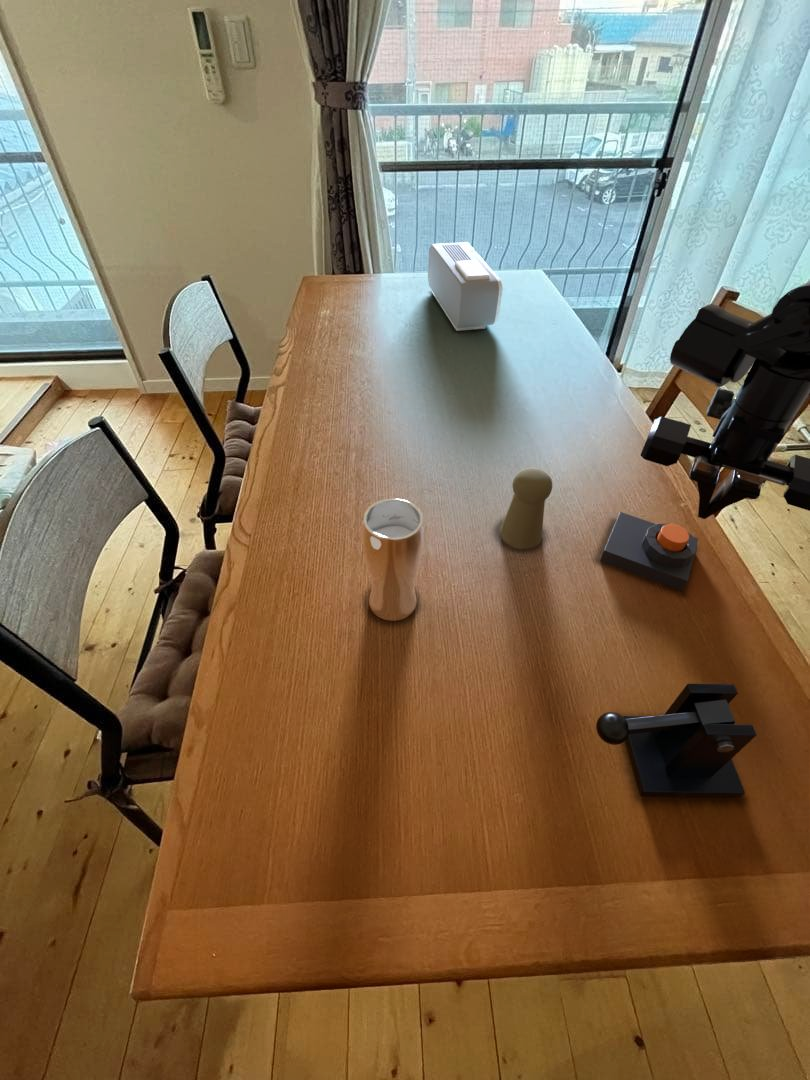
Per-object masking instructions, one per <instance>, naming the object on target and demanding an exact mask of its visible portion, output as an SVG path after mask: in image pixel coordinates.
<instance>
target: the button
mask: <svg viewBox="0 0 810 1080" xmlns="http://www.w3.org/2000/svg"><path fill="white" fill-rule="evenodd" d="M666 524H667V525H665V526H663V527H662V528H661V530H660V532H659V534H658V537H657V542H658V544H659V545H660V546H661V547H663V548H664V549H666V550H669V551H672V552H679V551H681V550H683V549H684V547H685V546H686V544H687V542H688V540H689V534H690V533H689V532H688V530H686V529H685V528H684V527H683V526H681V525H678V524H673V523H666ZM688 533H689V534H688Z"/></svg>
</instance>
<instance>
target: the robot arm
mask: <svg viewBox="0 0 810 1080" xmlns="http://www.w3.org/2000/svg"><path fill="white" fill-rule="evenodd" d="M669 363H670V364H671V365H672V366H674V367H676V368H678V369H680V370H683V372H686V373H688V374H690V375H693V376H695V377H697V378H699V379H701V380H703V381H705V382H707V383H709V384H711V385H713V386H715V387H717V388H716V389H715V392H714V394H713V396H712V398H711V400H710V403H709V405H708V407H707V409H706V412H705V414H706V417H709V418H713V419H716V420H718V422H717V424H716V426H715V428H714V429H713V432H712V438H713V439H712V441H711V442H708V441H705V440H701V439H699V438H694V437H692V436H689V433H690V431H691V427H692V424H691V423H687V422H683V421H679V420H675V419H672V418H669V417H665V416H659V417H658V418H655V419H654V420H653V423H652V425H651V427H650V430H649V432H648V434H647V437H646V440H645V442H644V445H643V447H642V449H641V452H640V456H641V458H642V459H643V460H645V461H648V462H652V463H655V464H658V465H662V466H664V467H670V466H673V465H675V464H677V463H678V462H679V459H680V457H681V455H685V456H688V457H692V458H693V460H692V464H691V467H690V471H689V474H688V478H689V479H690V480H691V481H693V482H696V483H697V485H696V486H697V491H698V497H699V499H698V511H697V517H698V518H700V519H703V520H706V519H708V518H710V517H712V516H713V515H714V514H717V513H718V512H720V511H722V510H723V509H725V508H727V507H729V506H732V505H734V504H736V503H738V502H740V501H743V500H746V499H751V500H757V499H758V498H759V497H760V496H761V490H762V486H763V484H766V482H771V483H774V484H777V485H781V486H787V488H786V489H785V490H784V491H783V496H782V497H783V498H784V500H785V502H786V504H787V505H789V506H791V507H795V508H799V509H802V510H805V511H808V512H810V458H808V457H806V456H802V455H798V454H794V455H793V456H791V457H789V458H790V459H789V460H788V462H787V463H786V464H782V463H780V462H775V461H772V458H771V456H772V454H773V453H774V450H775V449H776V448H777V446H778V445H779V444H780V443H781V441H782V439H783V438H784V436H785V433H786V432H787V430H788V428H789V427H790V425H791V424H792V422H793V420H794V419H795V417H796V416H797V414H798V412H799V411H800V409H801V408H802V406H803V404H805V401H806V400H807V398H808V397H809V395H810V280H809V281H807V282H805V283H803V284H801V285H798V286H797V287H795V288H792V289H790V290H789V291H788V292H786V293H785V294H784V295H782V297H780V298H779V300H778V301H777V302H776V304H775V305H774V306H773V308H772V311H771V313H769V314H767V315H766V316H763V317H761V318H760V319H758V320H755V321H751V320H749V319H746V318H744V317H741V316H739V315H736V314H733V313H731V312H729V311H727V310H726V309H724V308H723V307H722V306H719V305H717V304H715V303H709V304H707V305H705V306H703V307H700V308H698V311H697V313H696V316H695V318H694V319H693V320H692V321H691V322H690V323H688V325H687V326H686V328H685V329H684V330H683V332H682V333H681V335H680V337H679V338H678V339H677V340H676V341H675V342H674V344H673V347H672V350H671V352H670V357H669ZM746 374H747V375H746ZM745 375H746V376H745ZM744 377H745V378H744ZM743 378H744V381H743V382H742V384H741V386H740V388H739V389H738V392H737V394H736V395H735V392H734V391H732V390H728V389H726V388H725V389H724V388H721V387H723V386H725V385H727V384H728V383H729V382H732V383H738V382H740V381H741V380H742V379H743ZM722 468H725V469H727V470H730V471H729V474H727V476H726V478H725V479H724V481H723V482H722V483H721V485H720V486H719V487H718V489H717V490H716V488H717V485H718V480H719V476H720V472H721V470H722ZM714 492H715V493H714Z"/></svg>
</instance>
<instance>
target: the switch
mask: <svg viewBox="0 0 810 1080" xmlns="http://www.w3.org/2000/svg"><path fill="white" fill-rule="evenodd" d="M623 716H624V715H622V714H620V713H618V712H614V711H608V712H605V713H602V714H601V715H600V716H599V717H598V718H597V721H596V725H595V728H596V734H597V735H598V737H599V738H600V739H601V740H602V741H603V742H604V743H606V744H608V745H611V746H617V745H622V744H623V743H624V742H626V741H625V740H626V739H627V738H628V736H629V734H636V733H645V732H655V731H665V730H674V729H684V728H693V727H697V729H698V730H699V728H700V727H701V726H702V725H703V724H736V719H735V716H734V714H733V712H732V710H731V707H730V705H729V704H728V702H727V700H726V699H724V700H715V701H706V702H697V703H694V707H693V712H687V713H678V714H669V715H664V714H660V715H649V716H650V717H641V718H632V719H625V718H624V717H623Z"/></svg>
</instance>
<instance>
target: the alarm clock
mask: <svg viewBox="0 0 810 1080" xmlns="http://www.w3.org/2000/svg"><path fill="white" fill-rule="evenodd" d="M427 261H428V262H427V283H428V286H429V288H430V290H431V293H432V295H433V296H434V298H435V300H436V301H437V303H438V305H439V306H440V308H441V309H442V310H443V312H444V314H445V315H446V317H447V318H448V320H449V321H450V323H451V324H452V326H453V328H454V330H455V331H456V332H458V331H461V332H462V331H470V330H471V331H472V330H484V329H487V326H496V325H497V324H498V322H499V318H500V314H501V306H502V300H503V299H502V298H503V291H504V290H503V289H504V287H503V281H502V279H501V278H500V277H499V276H498V274H496V272H495V271H494V270H493V269H492V268H491V267H490V266H489V265H488V263H486V261H485V259H483V257H482V256H481V255H480V254H479V253H478V252H477V251H476V250H475V248H474V247H472V245H471V244H470V243H469V242H468V241H461V242H446V243H432V244H430V246H429V248H428V259H427Z"/></svg>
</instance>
